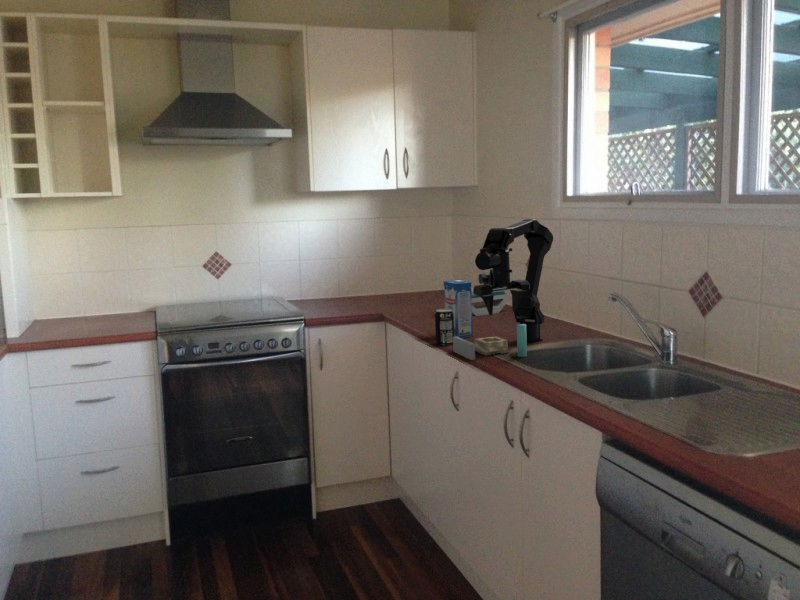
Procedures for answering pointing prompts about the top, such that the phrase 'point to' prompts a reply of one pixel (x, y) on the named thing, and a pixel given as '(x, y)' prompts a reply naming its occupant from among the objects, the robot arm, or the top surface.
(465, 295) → the milk carton
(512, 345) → the top surface
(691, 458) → the top surface
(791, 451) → the top surface
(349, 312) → the top surface
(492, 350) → the sliding block
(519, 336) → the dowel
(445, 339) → the beverage can
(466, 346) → the wall
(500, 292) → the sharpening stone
